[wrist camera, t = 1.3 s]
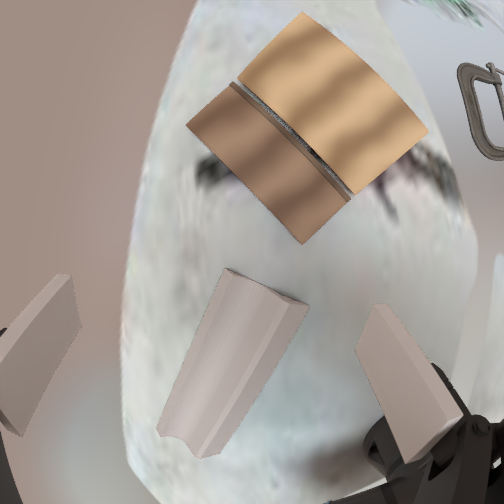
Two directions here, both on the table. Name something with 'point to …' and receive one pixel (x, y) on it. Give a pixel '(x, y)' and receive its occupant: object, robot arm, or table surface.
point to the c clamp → (466, 83)
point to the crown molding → (229, 362)
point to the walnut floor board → (269, 161)
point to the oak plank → (333, 101)
